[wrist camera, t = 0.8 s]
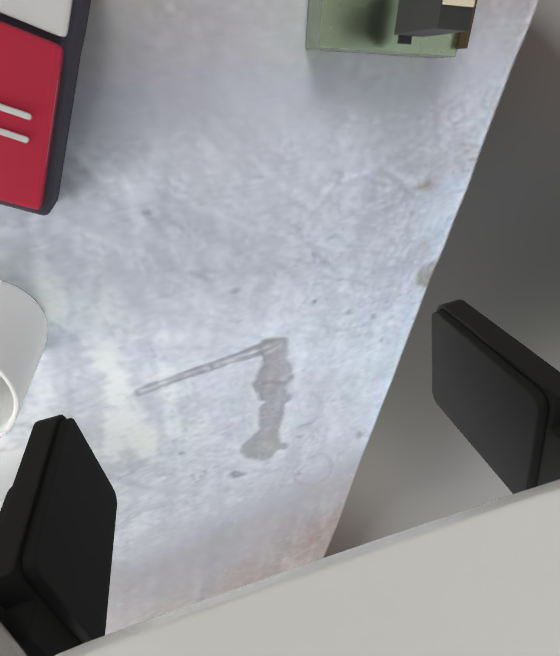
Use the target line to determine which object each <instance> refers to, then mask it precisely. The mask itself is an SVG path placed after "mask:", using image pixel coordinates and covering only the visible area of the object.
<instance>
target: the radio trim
mask: <svg viewBox="0 0 560 656" xmlns="http://www.w3.org/2000/svg"><path fill="white" fill-rule="evenodd" d="M476 4H477V0H475V4H474V9H473V14H472V18H471V23H470V28H469V31H467V32H460V35H459V40H458V45H457V49H464V48H467V47H468V42H469V37H470V32H471V28H472V23H473V18H474V13H475V9H476ZM411 41H412V36H403V35H398V40H397V44H409V45H410V44H411Z"/></svg>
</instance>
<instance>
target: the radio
mask: <svg viewBox="0 0 560 656" xmlns="http://www.w3.org/2000/svg"><path fill="white" fill-rule="evenodd" d="M398 3H399V0H309V1H308V17H307V32H306V49H310V50H324V51H338V52H353V53H367V54H381V55H395V56H409V57H424V58H444V57H455V55H456V50H457V45H458V40H459V35H460V32H459V33H451V34H443V35H435V36H427V37H415V36H412V41H411V44H410V45H409V44H397V40H398V35H395V34H394V31H395V24H396V17H397V10H398Z"/></svg>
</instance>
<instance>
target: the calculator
mask: <svg viewBox="0 0 560 656" xmlns="http://www.w3.org/2000/svg"><path fill="white" fill-rule="evenodd" d="M90 1H91V0H0V204H2V205H6V206H10V207H13V208H17V209H21V210H24V211H28V212H32V213H35V214H39V215H47V214H49V213H50V211H51V210H52V208H53V207H54V205H55V204H56V202H57V200H58V195H59V188H60V182H61V176H62V170H63V163H64V157H65V151H66V144H67V138H68V132H69V125H70V119H71V113H72V106H73V100H74V94H75V87H76V81H77V75H78V68H79V62H80V56H81V50H82V46H83V41H84V37H85V32H86V26H87V20H88V14H89V8H90Z"/></svg>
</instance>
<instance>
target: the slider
mask: <svg viewBox="0 0 560 656" xmlns="http://www.w3.org/2000/svg"><path fill="white" fill-rule="evenodd" d="M474 4H475V0H399V3H398V10H397V17H396V24H395V31H394V34H395V35H403V36H415V37H427V36H435V35H443V34H451V33H459V32H467V31H469V28H470V23H471V18H472V14H473V9H474Z"/></svg>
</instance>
